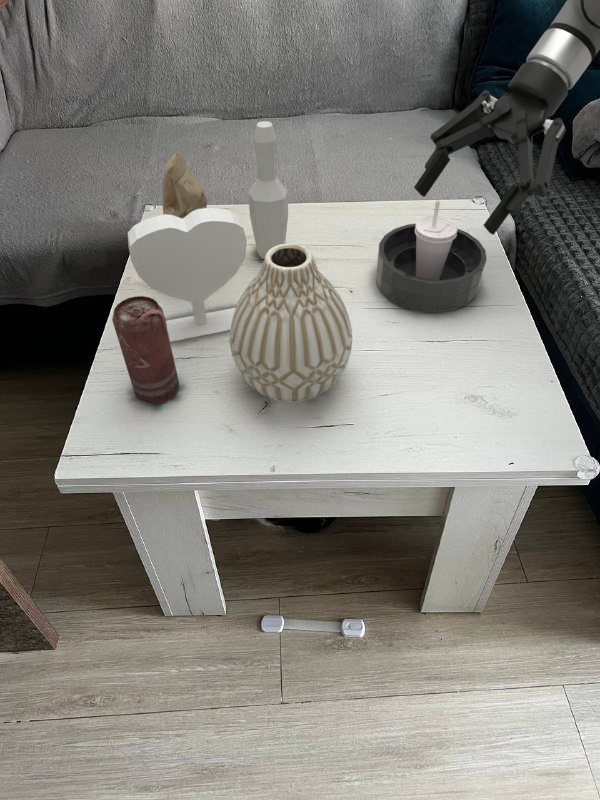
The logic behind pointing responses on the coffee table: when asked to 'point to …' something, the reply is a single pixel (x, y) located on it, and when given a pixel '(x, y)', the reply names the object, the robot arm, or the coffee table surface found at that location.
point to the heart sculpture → (190, 263)
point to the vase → (290, 328)
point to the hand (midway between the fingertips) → (452, 210)
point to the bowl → (429, 294)
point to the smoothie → (433, 244)
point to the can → (146, 349)
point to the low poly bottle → (267, 194)
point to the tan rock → (181, 189)
